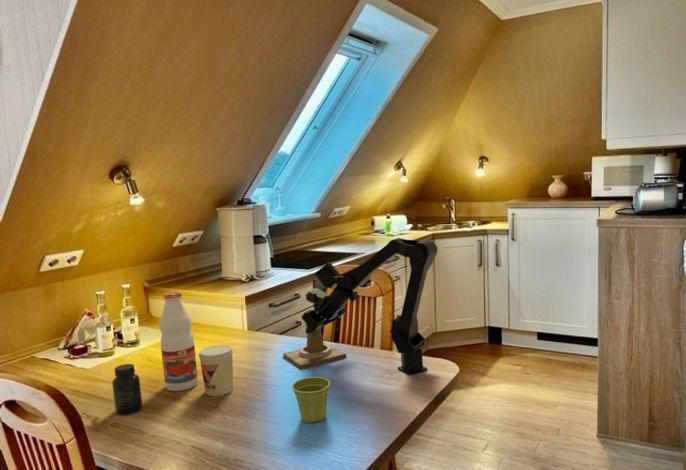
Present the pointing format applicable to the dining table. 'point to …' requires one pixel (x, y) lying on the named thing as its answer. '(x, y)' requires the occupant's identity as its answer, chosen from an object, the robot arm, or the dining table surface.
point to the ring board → (313, 356)
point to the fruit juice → (177, 345)
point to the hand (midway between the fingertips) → (310, 330)
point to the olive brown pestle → (315, 342)
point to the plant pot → (312, 397)
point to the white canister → (217, 369)
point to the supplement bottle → (126, 390)
